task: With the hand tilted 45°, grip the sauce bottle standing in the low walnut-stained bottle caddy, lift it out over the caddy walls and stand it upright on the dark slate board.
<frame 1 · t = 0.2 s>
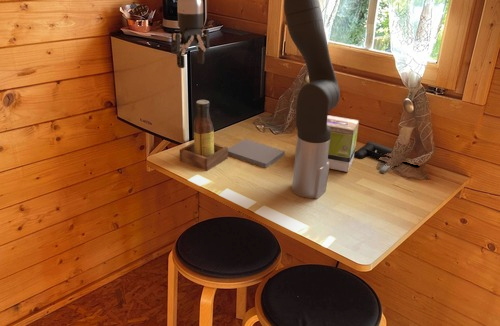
hand: (191, 65, 151), 29 cm above the table, tool pointing down, fingers open, 8 cm apart
tea box: (328, 162, 160), on the table
sauce bottle: (204, 160, 158), resting in bottle caddy
bottle caddy: (204, 159, 157), on the table
slate board: (254, 154, 163), on the table
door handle: (383, 163, 163), on the table
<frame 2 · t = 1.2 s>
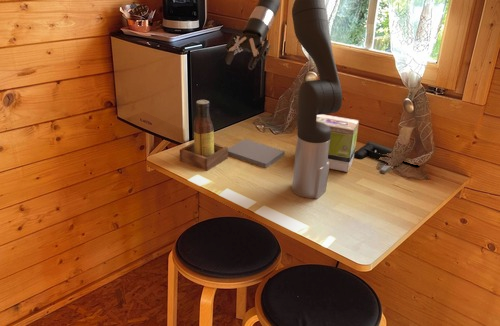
hand: (238, 65, 155), 28 cm above the table, tool tilted 45°, fingers open, 8 cm apart
nothing on the table moved.
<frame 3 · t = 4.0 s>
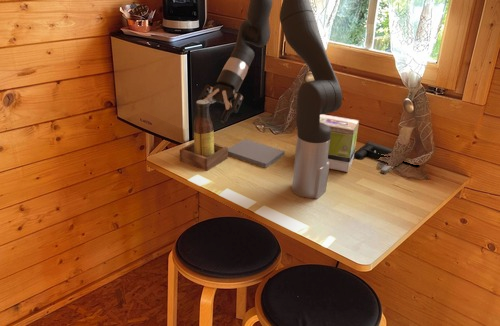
hand: (210, 118, 154), 13 cm above the table, tool tilted 45°, fingers open, 8 cm apart
nothing on the table moved.
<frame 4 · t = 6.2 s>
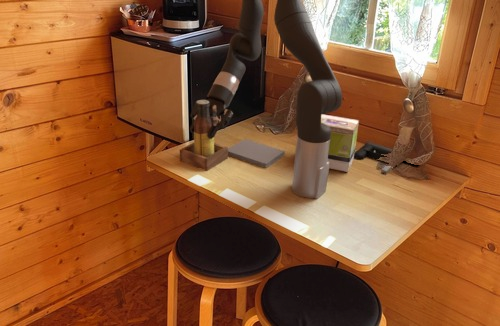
hand: (200, 134, 152), 9 cm above the table, tool tilted 45°, fingers closed on sauce bottle, 6 cm apart
sauce bottle: (204, 160, 158), resting in bottle caddy, touching gripper
everything else where it was.
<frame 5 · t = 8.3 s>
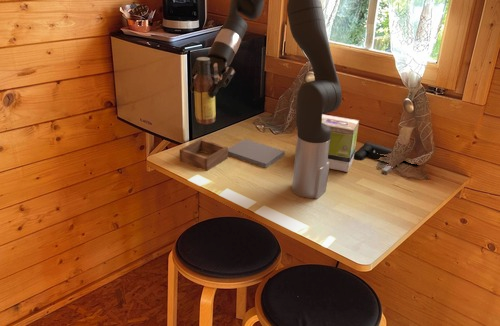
hand: (201, 93, 146), 23 cm above the table, tool tilted 45°, fingers closed on sauce bottle, 6 cm apart
sauce bottle: (205, 122, 152), point 13 cm above the table, touching gripper
everything else where it was.
when the fingers open (12 cm above the table, at t = 14.0 s): sauce bottle stays where it is, resting on slate board.
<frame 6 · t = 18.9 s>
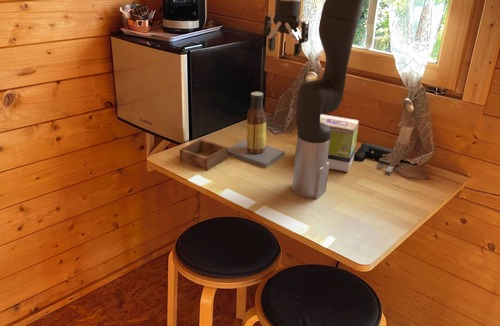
hand: (284, 53, 149), 34 cm above the table, tool pointing down, fingers open, 8 cm apart
sauce bottle: (255, 150, 162), point 1 cm above the table, touching slate board
at the end: sauce bottle inside the target area on the slate board (0.2 cm from its centre), point 1.3 cm above the slate board's base; sauce bottle tilted 0°; the gripper is holding nothing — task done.
